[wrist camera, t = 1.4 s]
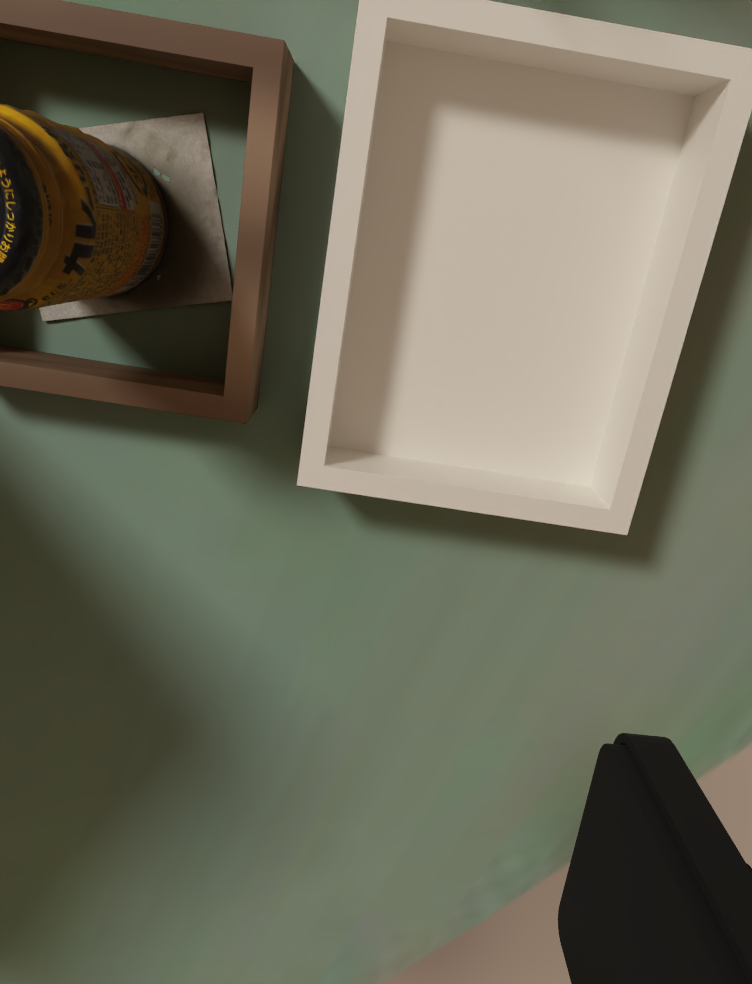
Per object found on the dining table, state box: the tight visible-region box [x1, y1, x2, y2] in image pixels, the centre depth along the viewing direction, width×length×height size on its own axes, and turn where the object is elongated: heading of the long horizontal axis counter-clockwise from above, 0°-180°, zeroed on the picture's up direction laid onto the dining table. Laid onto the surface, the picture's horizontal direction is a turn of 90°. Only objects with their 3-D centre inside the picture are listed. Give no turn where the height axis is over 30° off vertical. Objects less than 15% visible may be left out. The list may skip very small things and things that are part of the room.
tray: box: [297, 0, 752, 535], centre depth 29 cm, size 18×14×4 cm
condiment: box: [0, 104, 233, 321], centre depth 25 cm, size 7×8×12 cm
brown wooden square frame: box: [0, 0, 294, 423], centre depth 29 cm, size 14×13×3 cm
